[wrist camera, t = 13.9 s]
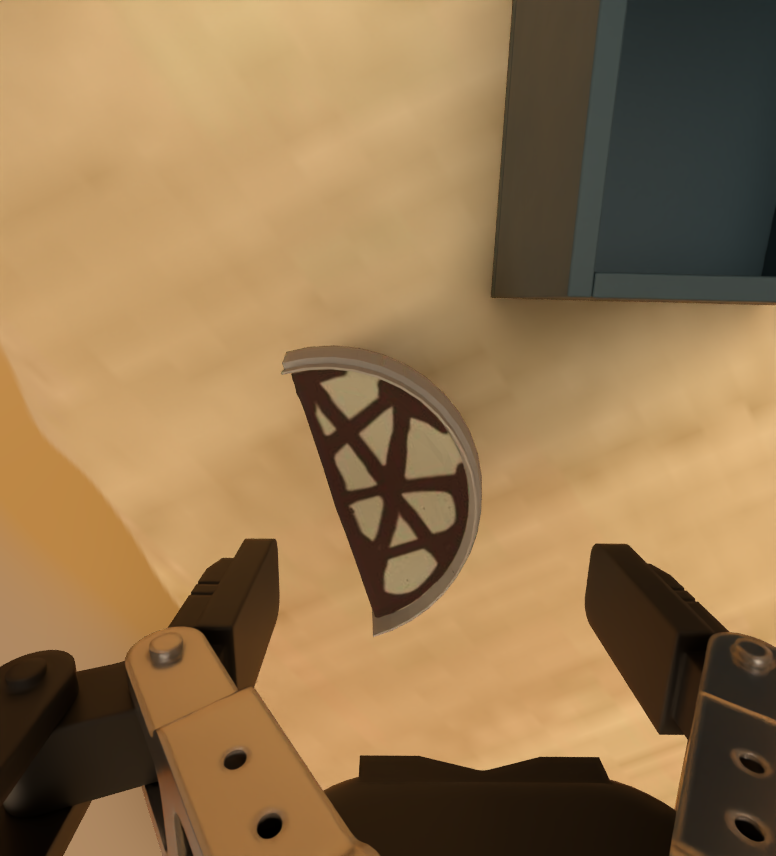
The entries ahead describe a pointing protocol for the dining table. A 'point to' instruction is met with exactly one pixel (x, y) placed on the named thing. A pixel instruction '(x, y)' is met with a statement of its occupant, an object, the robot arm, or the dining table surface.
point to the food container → (392, 473)
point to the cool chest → (639, 152)
